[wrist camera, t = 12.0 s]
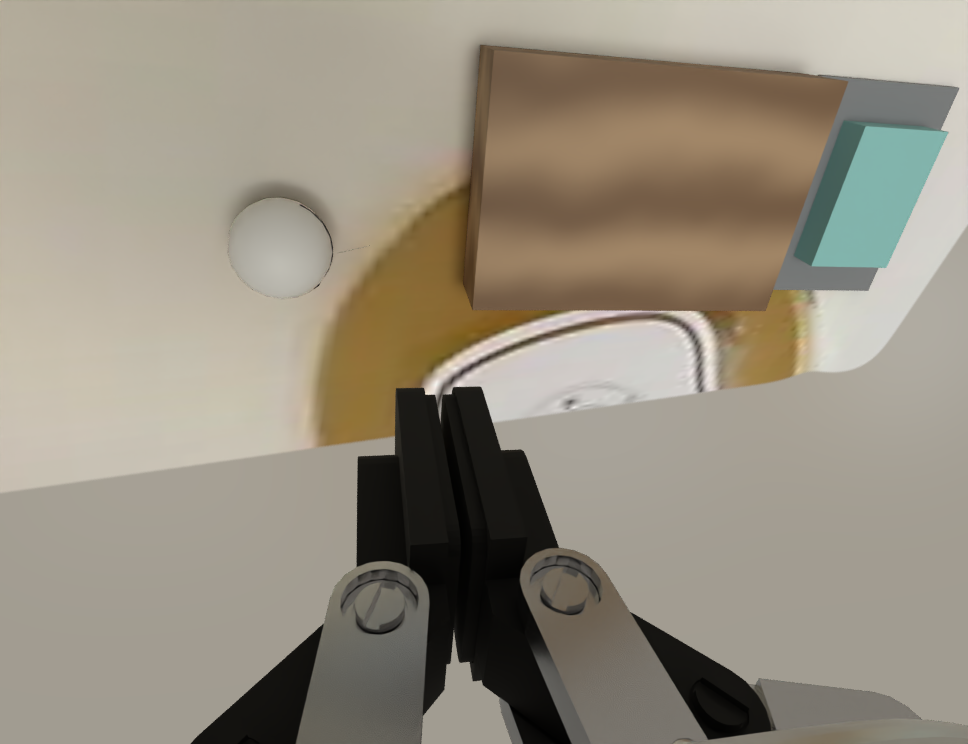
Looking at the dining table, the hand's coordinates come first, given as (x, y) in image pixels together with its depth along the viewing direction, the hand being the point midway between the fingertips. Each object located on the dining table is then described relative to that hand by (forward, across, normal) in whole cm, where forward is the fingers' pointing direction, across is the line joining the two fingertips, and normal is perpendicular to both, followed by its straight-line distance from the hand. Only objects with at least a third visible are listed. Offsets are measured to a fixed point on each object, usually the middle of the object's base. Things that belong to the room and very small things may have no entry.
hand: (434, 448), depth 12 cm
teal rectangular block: (+25, -32, +1) cm, 40 cm away
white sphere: (+27, +5, +5) cm, 28 cm away
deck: (+27, -15, +1) cm, 31 cm away
